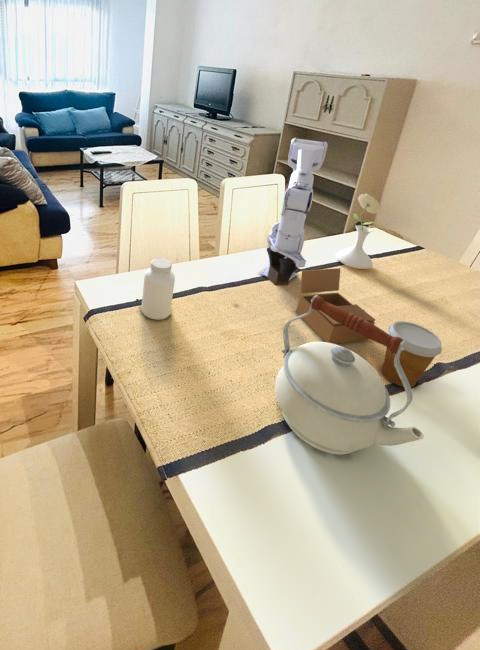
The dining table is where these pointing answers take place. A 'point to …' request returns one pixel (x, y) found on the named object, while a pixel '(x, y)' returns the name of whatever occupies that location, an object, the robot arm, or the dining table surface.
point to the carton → (328, 326)
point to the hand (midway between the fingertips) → (278, 276)
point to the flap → (320, 280)
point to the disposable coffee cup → (411, 352)
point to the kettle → (340, 390)
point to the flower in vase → (360, 237)
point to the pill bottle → (158, 289)
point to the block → (275, 275)
